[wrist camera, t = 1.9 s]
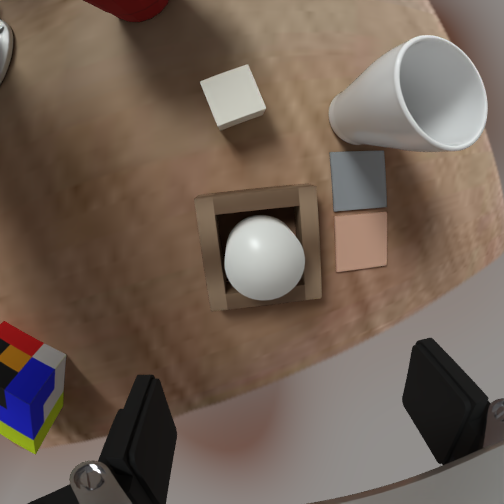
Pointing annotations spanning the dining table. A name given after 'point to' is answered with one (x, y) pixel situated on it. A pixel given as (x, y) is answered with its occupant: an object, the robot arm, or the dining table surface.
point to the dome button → (263, 258)
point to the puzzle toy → (28, 387)
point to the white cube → (233, 97)
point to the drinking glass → (414, 100)
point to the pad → (360, 241)
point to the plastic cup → (131, 8)
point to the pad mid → (358, 180)
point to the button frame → (249, 200)
